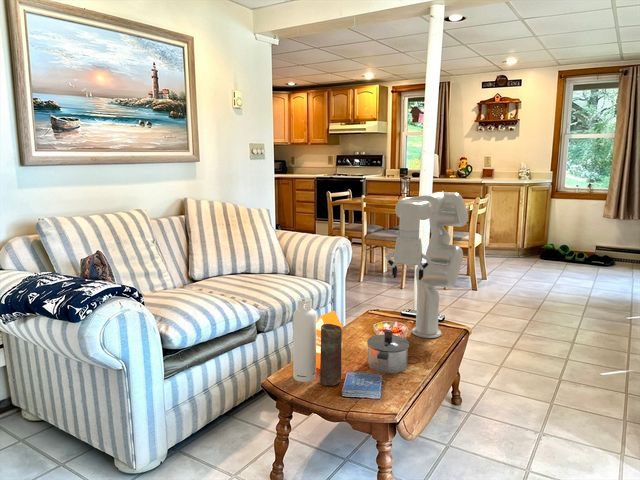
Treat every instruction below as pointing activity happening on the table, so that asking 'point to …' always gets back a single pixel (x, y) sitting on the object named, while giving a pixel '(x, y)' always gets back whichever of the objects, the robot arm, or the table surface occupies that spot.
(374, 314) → the table surface
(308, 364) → the bottle
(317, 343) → the orange juice
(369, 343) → the lid
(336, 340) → the candle
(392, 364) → the pot
